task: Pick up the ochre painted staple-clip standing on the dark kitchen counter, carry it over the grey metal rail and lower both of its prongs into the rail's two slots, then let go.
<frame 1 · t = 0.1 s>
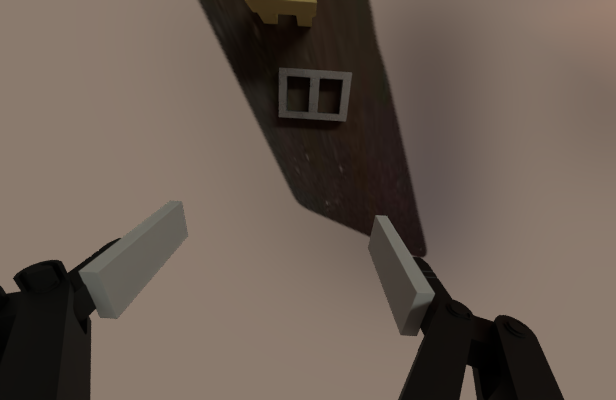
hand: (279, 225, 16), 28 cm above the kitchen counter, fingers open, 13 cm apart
clip: (288, 9, 33), on the kitchen counter
rail: (313, 95, 37), on the kitchen counter
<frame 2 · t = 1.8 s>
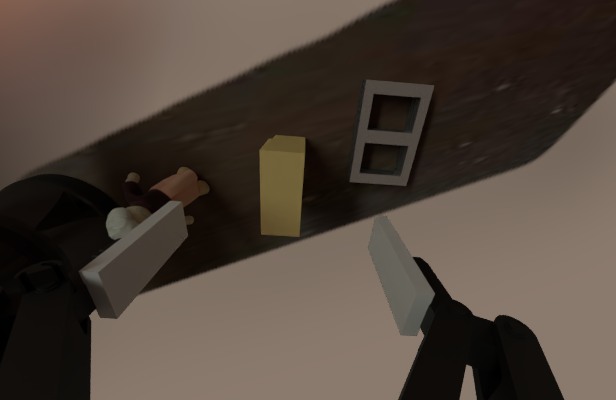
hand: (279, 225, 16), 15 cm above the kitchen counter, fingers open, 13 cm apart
grandmother figurine: (189, 178, 30), on the kitchen counter
clip: (289, 164, 29), on the kitchen counter
rail: (382, 134, 27), on the kitchen counter
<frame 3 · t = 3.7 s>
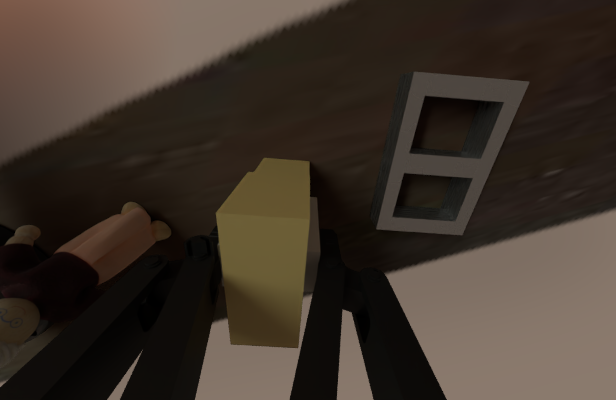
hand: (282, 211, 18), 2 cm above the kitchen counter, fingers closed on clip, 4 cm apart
grandmother figurine: (142, 218, 21), on the kitchen counter
clip: (285, 199, 19), on the kitchen counter, touching gripper
rail: (427, 157, 18), on the kitchen counter
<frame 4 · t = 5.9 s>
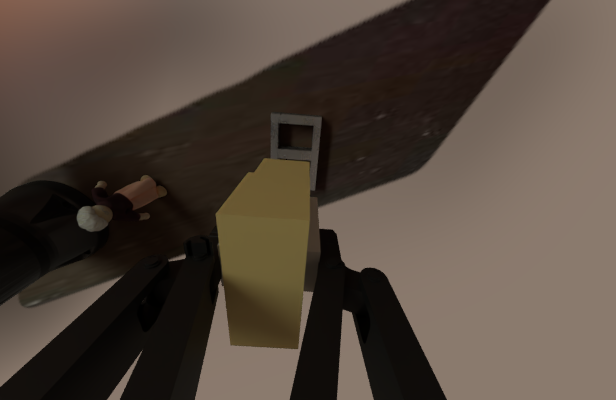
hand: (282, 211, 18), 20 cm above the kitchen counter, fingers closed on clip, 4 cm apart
grandmother figurine: (151, 184, 38), on the kitchen counter
clip: (285, 199, 19), point 18 cm above the kitchen counter, touching gripper
rail: (295, 151, 35), on the kitchen counter
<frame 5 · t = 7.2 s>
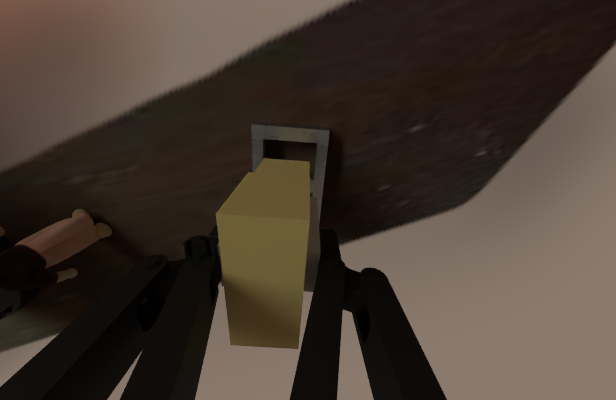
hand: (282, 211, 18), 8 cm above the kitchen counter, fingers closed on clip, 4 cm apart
grandmother figurine: (89, 220, 27), on the kitchen counter
clip: (285, 199, 19), point 6 cm above the kitchen counter, touching gripper
rail: (290, 177, 25), on the kitchen counter
when the fingers open (4 cm above the kitchen counter, at t = 8.3 s): clip drops 2 cm, resting in rail.
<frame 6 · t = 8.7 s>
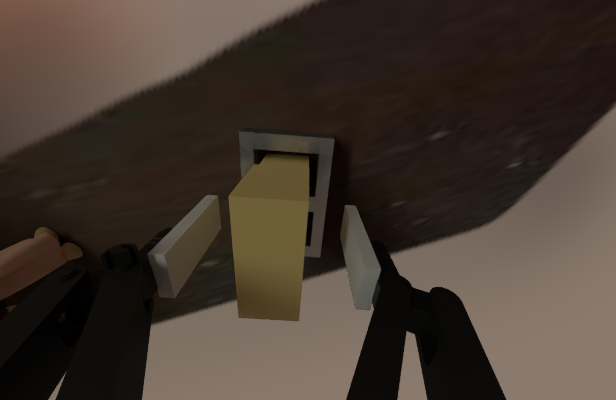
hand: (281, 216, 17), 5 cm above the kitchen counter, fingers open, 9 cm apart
grandmother figurine: (56, 240, 24), on the kitchen counter
clip: (286, 192, 21), resting in rail
rail: (287, 192, 21), on the kitchen counter
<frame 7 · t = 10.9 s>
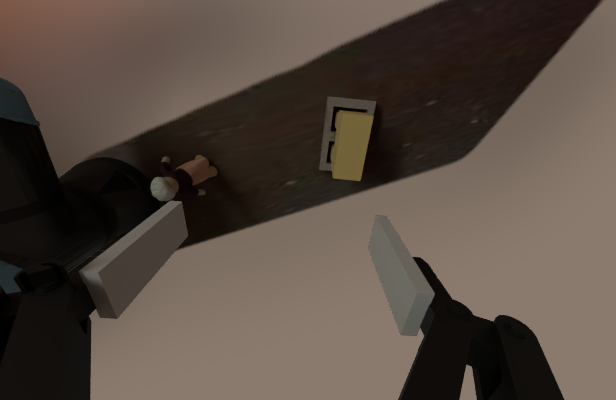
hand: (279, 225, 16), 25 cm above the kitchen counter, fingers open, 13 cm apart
grandmother figurine: (203, 164, 40), on the kitchen counter
clip: (344, 135, 37), resting in rail
rail: (344, 135, 37), on the kitchen counter
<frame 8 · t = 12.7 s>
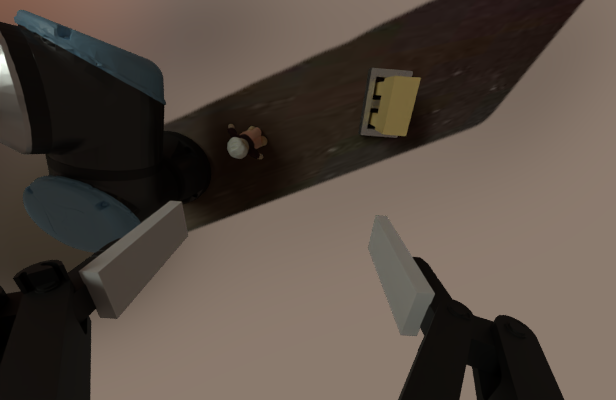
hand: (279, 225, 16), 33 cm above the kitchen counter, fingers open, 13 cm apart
grandmother figurine: (254, 135, 45), on the kitchen counter
clip: (381, 104, 42), resting in rail
rail: (381, 104, 42), on the kitchen counter
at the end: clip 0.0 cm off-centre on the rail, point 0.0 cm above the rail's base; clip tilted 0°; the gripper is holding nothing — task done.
